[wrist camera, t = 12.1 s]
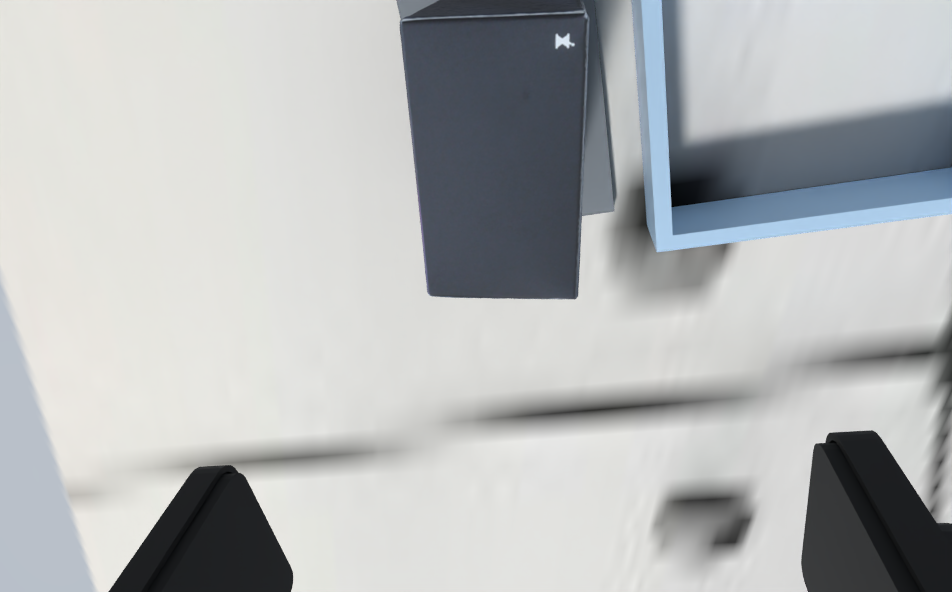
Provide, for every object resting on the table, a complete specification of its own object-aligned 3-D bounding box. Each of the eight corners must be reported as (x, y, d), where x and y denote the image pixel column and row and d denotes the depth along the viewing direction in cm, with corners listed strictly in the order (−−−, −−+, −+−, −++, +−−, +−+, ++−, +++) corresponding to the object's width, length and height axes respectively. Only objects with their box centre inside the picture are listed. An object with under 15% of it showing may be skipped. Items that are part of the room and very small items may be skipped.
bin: (1043, -211, 23) (1118, -234, 20) (966, 179, 30) (1012, 205, 27) (624, -109, 26) (634, -117, 23) (646, 224, 33) (656, 252, 30)
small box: (439, -11, 28) (387, 11, 19) (582, -18, 27) (599, 1, 18) (455, 205, 33) (420, 302, 24) (575, 204, 32) (585, 303, 23)
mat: (587, -66, 27) (588, -66, 26) (613, 207, 33) (614, 211, 32) (394, -21, 28) (391, -21, 28) (453, 230, 35) (452, 234, 34)
